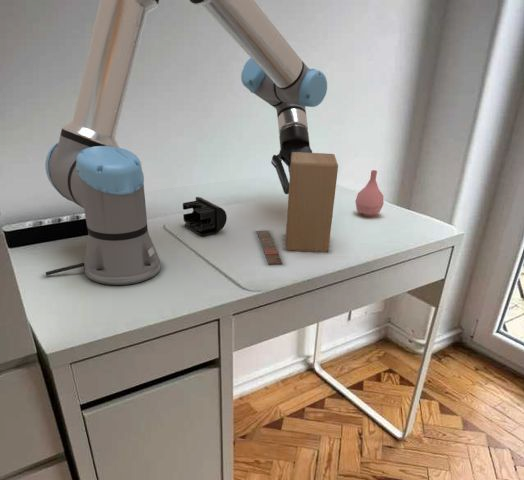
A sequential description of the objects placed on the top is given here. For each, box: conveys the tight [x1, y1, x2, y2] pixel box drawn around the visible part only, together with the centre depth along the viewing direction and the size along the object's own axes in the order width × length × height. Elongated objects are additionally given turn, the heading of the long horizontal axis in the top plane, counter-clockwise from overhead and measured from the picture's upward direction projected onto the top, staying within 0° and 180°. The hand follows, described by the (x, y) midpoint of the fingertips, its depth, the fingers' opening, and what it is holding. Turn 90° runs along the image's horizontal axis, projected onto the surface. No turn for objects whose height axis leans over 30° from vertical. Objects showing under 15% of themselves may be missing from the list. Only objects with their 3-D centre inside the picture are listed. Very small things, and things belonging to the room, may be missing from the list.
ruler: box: [256, 230, 283, 266], centre depth 118 cm, size 20×3×1 cm, turn 8°
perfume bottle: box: [355, 169, 384, 217], centre depth 137 cm, size 8×8×12 cm
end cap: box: [182, 196, 228, 238], centre depth 125 cm, size 10×7×7 cm
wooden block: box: [285, 152, 339, 253], centre depth 115 cm, size 10×10×20 cm
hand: (302, 218), depth 124 cm, fingers closed
